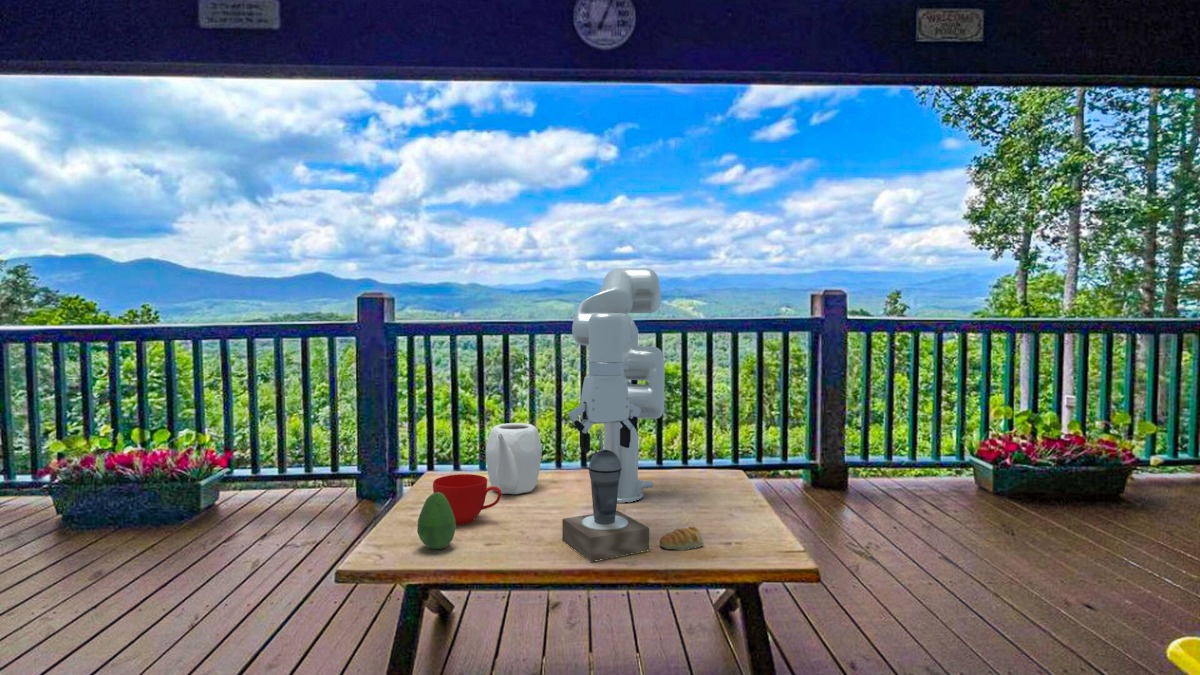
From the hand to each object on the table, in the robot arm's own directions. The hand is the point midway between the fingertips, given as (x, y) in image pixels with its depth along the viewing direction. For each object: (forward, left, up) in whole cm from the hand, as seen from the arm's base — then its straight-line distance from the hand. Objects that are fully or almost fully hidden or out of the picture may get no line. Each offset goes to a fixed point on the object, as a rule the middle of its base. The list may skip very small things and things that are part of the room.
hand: (605, 448), depth 137 cm
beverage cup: (0, 0, -16) cm, 16 cm away
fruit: (+33, -15, -22) cm, 42 cm away
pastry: (-16, +7, -22) cm, 28 cm away
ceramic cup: (+22, -30, -22) cm, 43 cm away
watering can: (+3, -51, -22) cm, 55 cm away
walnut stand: (0, 0, -21) cm, 21 cm away
